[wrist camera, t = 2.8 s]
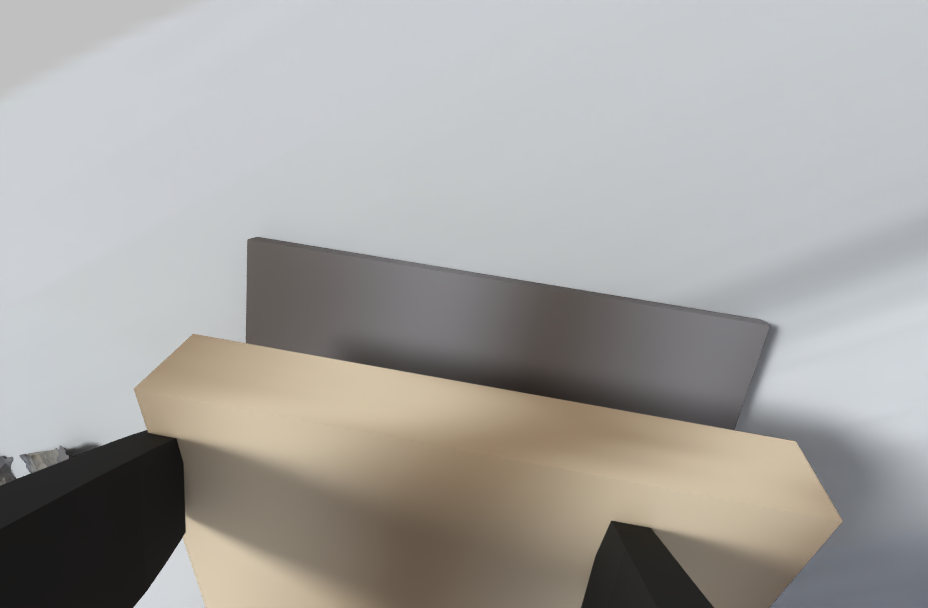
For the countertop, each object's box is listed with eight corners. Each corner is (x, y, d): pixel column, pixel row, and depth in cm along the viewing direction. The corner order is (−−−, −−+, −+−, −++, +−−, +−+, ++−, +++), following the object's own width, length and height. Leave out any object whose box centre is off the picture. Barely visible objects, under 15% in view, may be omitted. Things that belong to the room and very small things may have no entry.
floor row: (760, 319, 10) (813, 352, 8) (597, 804, 15) (608, 894, 13) (256, 237, 11) (204, 251, 9) (246, 723, 15) (210, 799, 13)
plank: (795, 441, 8) (842, 521, 7) (650, 656, 12) (663, 731, 11) (193, 333, 9) (134, 388, 8) (247, 572, 13) (214, 634, 12)
